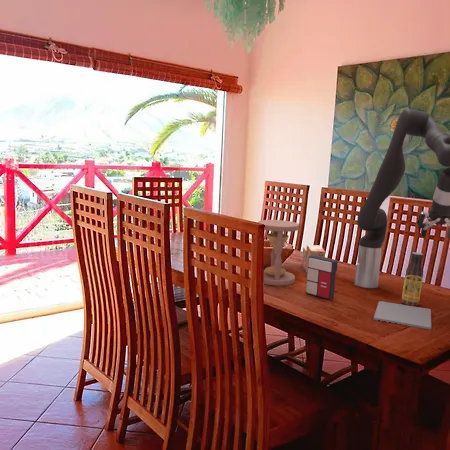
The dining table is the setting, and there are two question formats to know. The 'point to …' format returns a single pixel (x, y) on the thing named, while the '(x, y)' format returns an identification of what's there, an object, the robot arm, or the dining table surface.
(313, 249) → the cardboard box
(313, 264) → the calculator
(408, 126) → the robot arm
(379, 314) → the slate mat
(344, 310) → the dining table surface
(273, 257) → the hourglass
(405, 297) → the sauce bottle
